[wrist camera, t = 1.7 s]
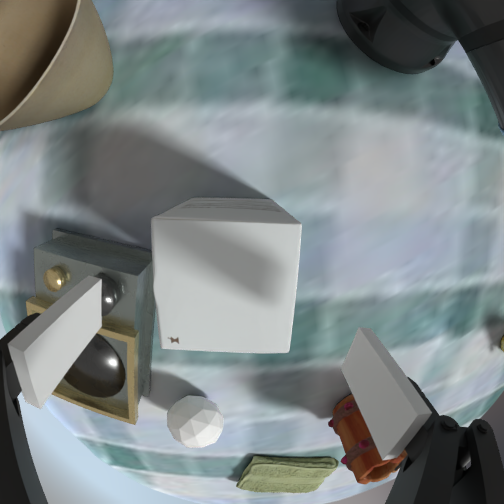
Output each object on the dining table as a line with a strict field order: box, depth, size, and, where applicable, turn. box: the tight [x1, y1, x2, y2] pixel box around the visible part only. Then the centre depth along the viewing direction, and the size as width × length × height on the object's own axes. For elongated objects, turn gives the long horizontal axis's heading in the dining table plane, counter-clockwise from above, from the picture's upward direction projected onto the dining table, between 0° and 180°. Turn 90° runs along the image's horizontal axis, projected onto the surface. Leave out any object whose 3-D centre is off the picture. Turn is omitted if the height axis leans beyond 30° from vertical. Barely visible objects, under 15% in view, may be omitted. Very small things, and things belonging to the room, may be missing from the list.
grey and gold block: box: [26, 228, 156, 425], centre depth 30 cm, size 22×15×8 cm
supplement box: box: [151, 197, 302, 353], centre depth 24 cm, size 9×9×15 cm
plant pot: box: [0, 0, 113, 131], centre depth 18 cm, size 15×15×16 cm
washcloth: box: [236, 456, 339, 493], centre depth 43 cm, size 13×18×3 cm
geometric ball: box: [167, 395, 224, 448], centre depth 34 cm, size 8×8×8 cm
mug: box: [328, 394, 407, 484], centre depth 32 cm, size 15×8×15 cm, turn 95°
